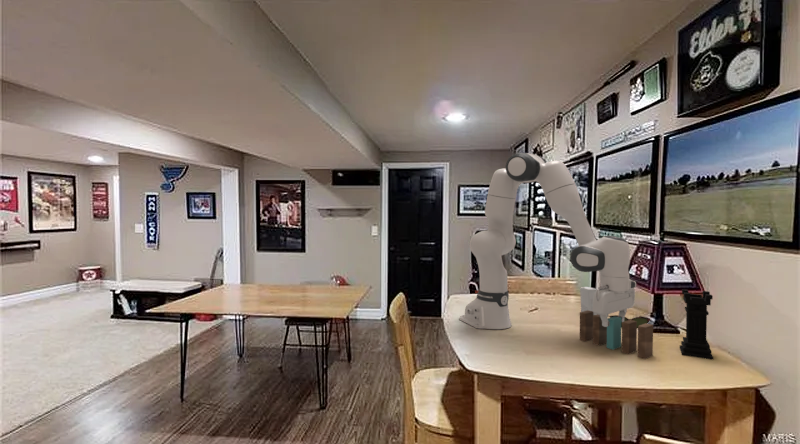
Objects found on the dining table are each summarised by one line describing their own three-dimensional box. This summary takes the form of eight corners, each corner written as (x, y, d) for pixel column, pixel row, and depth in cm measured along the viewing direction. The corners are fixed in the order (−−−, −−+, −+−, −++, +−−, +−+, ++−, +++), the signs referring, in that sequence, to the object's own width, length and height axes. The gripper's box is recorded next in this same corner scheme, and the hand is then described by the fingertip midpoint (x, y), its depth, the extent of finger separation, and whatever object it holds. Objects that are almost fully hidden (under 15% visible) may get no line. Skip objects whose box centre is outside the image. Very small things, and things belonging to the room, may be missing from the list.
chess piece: (709, 351, 131) (710, 291, 130) (713, 359, 124) (714, 296, 124) (679, 347, 135) (680, 289, 134) (681, 355, 128) (682, 293, 128)
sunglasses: (609, 327, 159) (609, 315, 159) (603, 320, 173) (603, 308, 174) (650, 330, 155) (650, 317, 155) (640, 323, 169) (640, 311, 169)
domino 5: (637, 356, 127) (638, 325, 127) (645, 353, 130) (645, 323, 130) (644, 359, 125) (645, 327, 125) (652, 355, 128) (653, 324, 128)
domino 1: (579, 339, 144) (579, 312, 144) (587, 337, 147) (587, 310, 146) (585, 341, 142) (585, 313, 142) (593, 338, 145) (593, 311, 144)
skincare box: (598, 316, 174) (598, 289, 173) (589, 317, 173) (589, 289, 172) (588, 312, 180) (588, 286, 179) (579, 313, 179) (579, 286, 178)
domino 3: (620, 346, 136) (621, 317, 136) (613, 349, 134) (613, 320, 133) (614, 344, 138) (614, 316, 138) (606, 347, 136) (606, 318, 135)
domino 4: (621, 352, 131) (622, 322, 131) (629, 349, 134) (629, 319, 134) (628, 354, 129) (628, 323, 129) (636, 351, 132) (636, 321, 132)
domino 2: (592, 343, 140) (593, 315, 139) (600, 340, 142) (601, 313, 142) (598, 345, 138) (599, 316, 137) (606, 342, 141) (607, 314, 140)
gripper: (606, 288, 127) (605, 331, 128) (638, 282, 138) (637, 321, 139) (587, 285, 132) (587, 326, 133) (620, 279, 143) (619, 317, 144)
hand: (613, 323), depth 136 cm, fingers open, 8 cm apart
